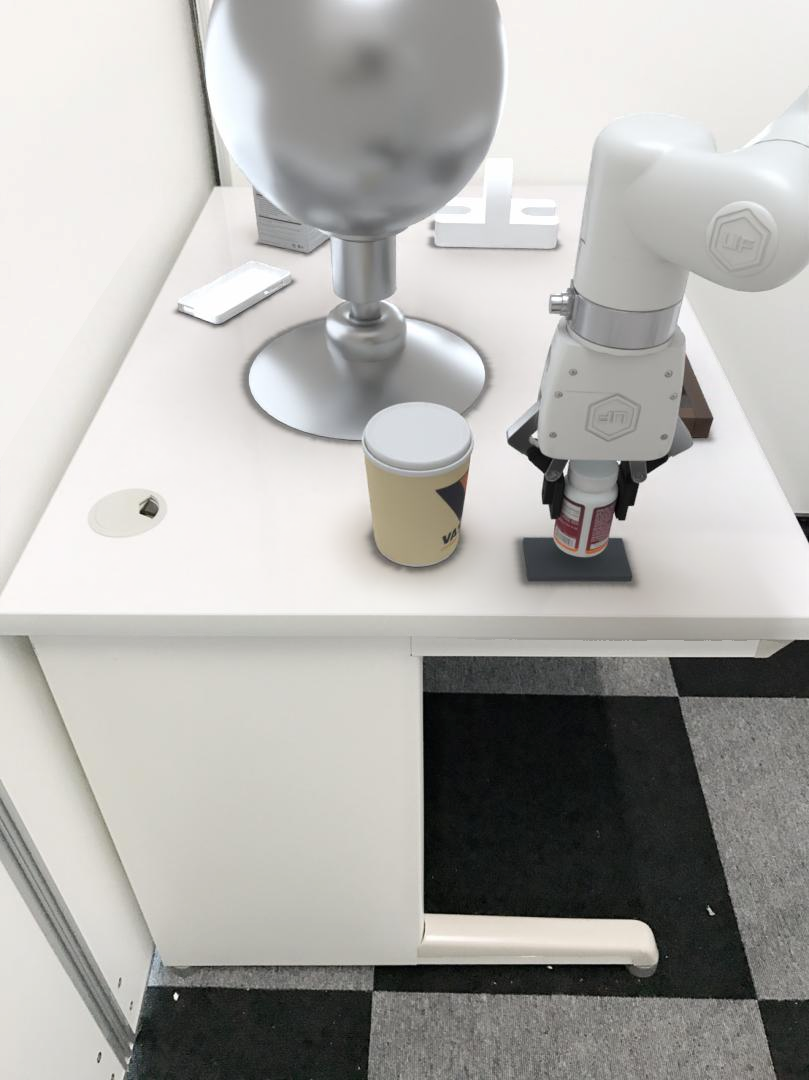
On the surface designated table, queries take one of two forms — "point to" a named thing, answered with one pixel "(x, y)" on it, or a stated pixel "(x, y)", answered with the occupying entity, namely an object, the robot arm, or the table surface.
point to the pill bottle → (587, 507)
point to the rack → (694, 405)
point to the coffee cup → (417, 480)
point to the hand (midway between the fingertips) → (585, 507)
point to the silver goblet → (358, 179)
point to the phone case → (234, 292)
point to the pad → (575, 562)
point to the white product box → (284, 228)
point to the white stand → (497, 216)
